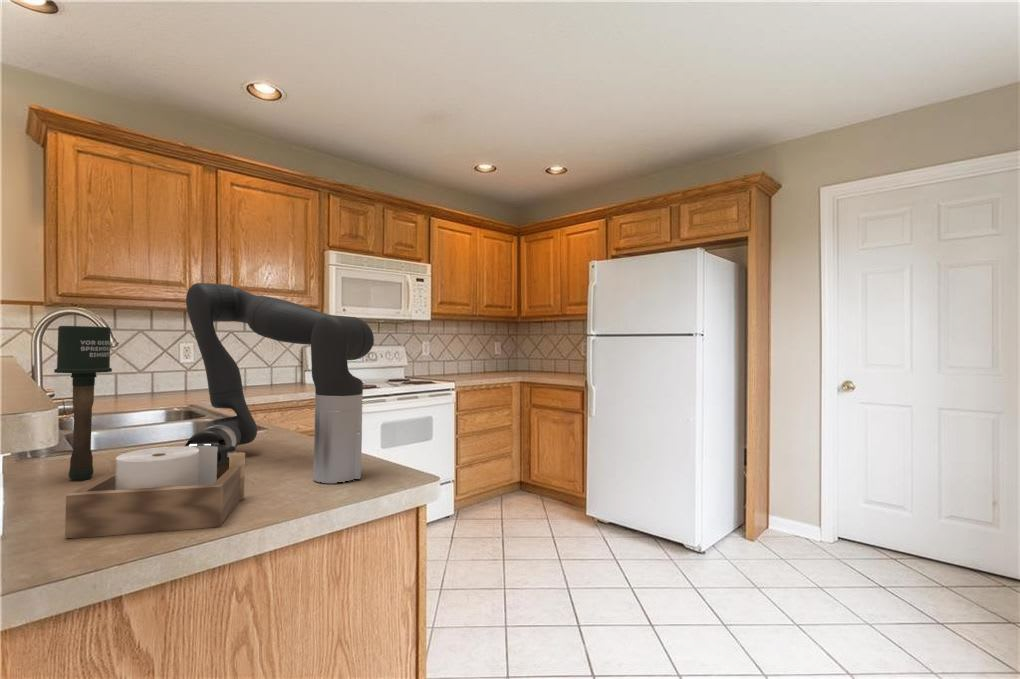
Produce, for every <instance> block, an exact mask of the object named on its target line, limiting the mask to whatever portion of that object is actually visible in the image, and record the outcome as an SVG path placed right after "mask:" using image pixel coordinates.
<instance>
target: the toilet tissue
mask: <svg viewBox="0 0 1020 679" xmlns="http://www.w3.org/2000/svg"><path fill="white" fill-rule="evenodd" d="M217 451H218V447H217V446H185V445H182V446H181V445H179V446H163V447H161V446H160V447H152V448H144V449H138V450H133V451H129V452H124V453H122V454H119V455H118V456H116V457H115V458H116V476H115V478H116V482H115V490H123V489H142V488H158V487H176V486H193V485H211V484H214V483H215V482H216V481H217V480H218V477H217V475H218V465H217Z"/></svg>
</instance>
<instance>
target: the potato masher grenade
mask: <svg viewBox="0 0 1020 679" xmlns="http://www.w3.org/2000/svg"><path fill="white" fill-rule="evenodd" d="M56 354H57V355H56V357H57V358H56V368H55V369H54V373H56V374H71V375H70V378H72V386H71V387H72V406H73V427H72V428H73V432H72V433H73V434H72V452H71V456H70V460H69V461H70V462H69V464H70V465H69V471H68V478H69V480H70V481H73V482H81V481H86V480H89V479H91V478H92V477H93V475H94V471H95V470H94V463H93V462H94V461H93V460H94V459H93V458H94V457H93V456H94V455H93V453H92V421H93V420H92V417H93V413H92V411H93V406H94V402H95V385H96V384H95V383H96V382H95V381H96V378H97V377H98V375H97V373H98V374H99V373H111V372H112V371H113V368H112V367H111V365H110V364H111V327H108V326H93V325H92V326H91V325H90V326H87V325H59V326H58V328H57V352H56Z"/></svg>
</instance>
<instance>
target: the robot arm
mask: <svg viewBox="0 0 1020 679" xmlns="http://www.w3.org/2000/svg"><path fill="white" fill-rule="evenodd" d="M186 292H187V293H186V295H185V296H186V297H185V304H186V311H187V315H188V318H189V322H190V324H191V327H192V328H191V329H192V330H193V335H194V337H195V341H196V343H197V346H198V349H199V352H200V356H201V358H202V361H203V365H204V369H205V374H206V375H205V376H206V380H207V387H208V393H209V394H208V395H209V401H210V405H211V407H213V408H215V409H231V410H232V411H234V412H235V414H236V415H235V416H228V417H223V418H216V419H214V420H211V421H210V422H209V423H208V424H207V427H206V428H204V429H202V430H200V431H198V432H196V433H195V434H193V435H192V436H191V437H190V438H189V439H188V440H187V442H186V443H185V445H184V446H217V447H218V451H217V466H218V465H219V464H222V463H227V462H229V454H231V453H237V451H236V450H237V447H238V446H241V445H247V444H250V443H252V442H253V441H254V440H255V439H256V437H257V434H258V426H257V423H256V420H255V419H254V417H253V415H252V412H251V411H250V408H249V407H248V404H247V402H246V399H245V395H244V391H243V387H244V386H243V380H242V376H241V371H240V368H239V367H238V364H237V362H236V361H235V359H234V358H233V356H232V355H231V354H230V353H229V352H228V350H227V349H226V348H225V346H224V345H223V344H222V342H221V341H220V339H219V336H218V334H217V332H216V329H215V324H214V323H215V322H216V323H219V322H223V323H224V322H225V323H227V322H229V323H230V322H235V323H243V324H248V327H249V328H250V330H252V332H253V333H255V334H256V335H258V336H261V337H263V338H266V339H267V338H268V339H270V340H273V341H275V342H276V341H277V342H283V343H289V344H297V345H298V344H299V345H310V357H311V359H310V360H311V378H312V381H313V383H314V389H315V391H314V393H315V394H314V429H313V430H314V433H313V434H314V435H313V440H314V441H313V470H312V472H313V477H312V478H313V480H314V481H315V482H318V483H320V482H321V483H322V484H338V483H337V482H343V483H346V482H345V481H349V480H353V479H360V478H361V479H362V454H363V453H362V450H363V449H362V444H363V442H362V441H363V439H362V438H363V396H364V394H363V393H364V386H363V385H364V383H363V380H362V379H360V378H358V377H356V376H355V375H353V374H352V373H351V372H350V371H349V366H348V361H355V360H358V359H361V358H363V357H365V356H366V355H368V354H369V353H370V352H371V350H372V348H373V346H374V342H375V336H374V333H373V331H372V329H371V327H370V325H369V324H368V323H367V322H366V321H364V320H362V319H361V318H359V317H356V316H349V315H348V316H347V315H346V316H345V315H336V314H328V313H324V312H321V311H318V310H316V309H314V308H311V307H307V306H305V305H301V304H298V303H295V302H292V301H288V300H285V299H280V298H278V297H271V296H268V295H256V294H253V293H251V292H248V291H246V290H244V289H242V288H239V287H237V286H233V285H231V284H224V283H208V282H205V283H204V282H197V283H194V284H192V285H191V286H190V287H189V289H188V290H187V291H186ZM361 479H360V480H361ZM353 481H354V480H353ZM349 482H350V481H349Z"/></svg>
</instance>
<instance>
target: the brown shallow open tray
mask: <svg viewBox="0 0 1020 679" xmlns="http://www.w3.org/2000/svg"><path fill="white" fill-rule="evenodd" d="M108 461H109V462H108V473H107V474H105V475H103V476H101V477H99V478H97V479H95V480H93V481H92V482H89V483H88V484H85V485H84V486H82V487H80V488H78V489H76V490H74V491H72V492H70V493H68V494H66V496H65V521H64V522H65V524H64V525H65V526H64V540H68V539H67V538H73V539H84V538H94V537H95V538H96V537H107V536H108V537H110V536H121V535H132V534H133V535H134V534H146V533H148V534H149V533H157V532H159V533H160V532H170V531H171V532H172V531H183V530H185V531H186V530H195V529H196V530H197V529H208V528H220V527H221V526H222V525H223V523H224V522H225V521H226V520H227V518H228V517H229V516H230V514H231V513H232V512H233V511H234V509H235V508H236V507H237V505H238V504H239V503H240V502H241V501H244V500H245V477H246V476H245V475H246V474H245V473H246V471H245V470H246V469H245V468H246V452H243V451H242V452H241V451H240V452H237V451H236V453H231V454H229V461H228V463H229V466H228V468H227V470H226V471H225V472H223V474H222V475H220V477H219V478H217V481H216V482H215V483H214V484H211V485H193V486H176V487H158V488H142V489H123V490H115V482H116V478H115V476H116V457H113V458H109V460H108Z"/></svg>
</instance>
